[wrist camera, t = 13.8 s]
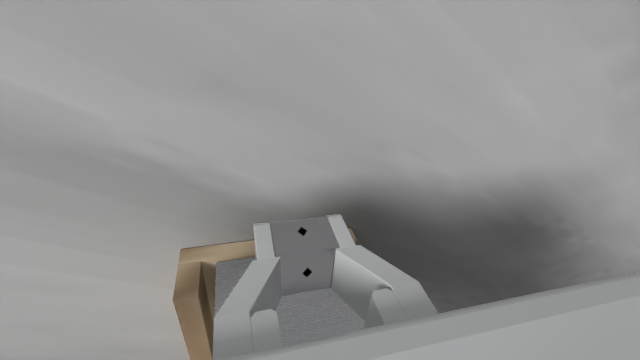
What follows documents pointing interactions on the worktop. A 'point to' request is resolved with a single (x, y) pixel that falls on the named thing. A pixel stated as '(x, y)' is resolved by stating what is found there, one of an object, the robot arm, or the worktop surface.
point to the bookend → (294, 307)
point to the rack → (204, 292)
